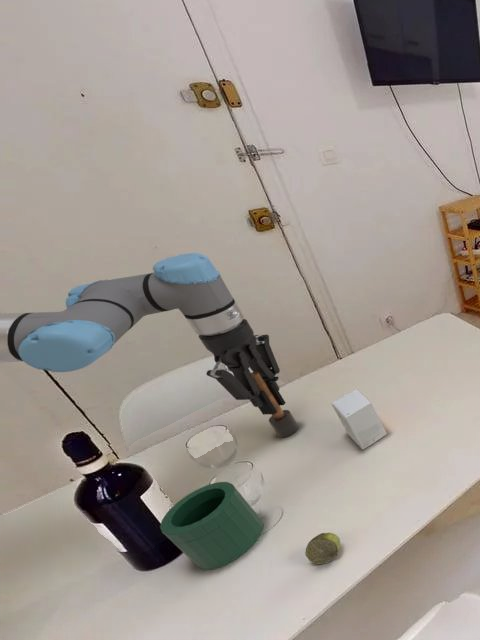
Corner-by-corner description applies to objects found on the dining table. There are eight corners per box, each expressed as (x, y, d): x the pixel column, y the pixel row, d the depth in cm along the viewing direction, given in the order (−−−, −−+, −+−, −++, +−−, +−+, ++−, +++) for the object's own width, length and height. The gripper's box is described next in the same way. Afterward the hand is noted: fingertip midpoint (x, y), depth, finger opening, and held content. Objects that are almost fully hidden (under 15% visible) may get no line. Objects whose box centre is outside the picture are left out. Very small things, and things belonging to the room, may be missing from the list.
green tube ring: (181, 570, 72) (143, 535, 67) (227, 517, 80) (196, 482, 75) (235, 568, 72) (201, 533, 67) (275, 516, 80) (248, 480, 75)
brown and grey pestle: (274, 437, 97) (235, 381, 88) (286, 424, 100) (250, 368, 92) (291, 437, 97) (254, 380, 88) (302, 423, 100) (268, 367, 92)
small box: (387, 434, 97) (372, 402, 92) (362, 451, 93) (345, 418, 88) (372, 419, 101) (357, 388, 96) (347, 434, 97) (330, 402, 92)
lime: (347, 552, 74) (336, 537, 71) (316, 575, 71) (303, 559, 68) (340, 536, 77) (329, 520, 74) (309, 556, 73) (297, 541, 71)
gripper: (207, 348, 77) (265, 434, 88) (268, 305, 90) (312, 385, 102) (167, 350, 77) (230, 435, 88) (234, 307, 90) (282, 386, 102)
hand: (274, 408), depth 95 cm, fingers closed on brown and grey pestle, 2 cm apart
